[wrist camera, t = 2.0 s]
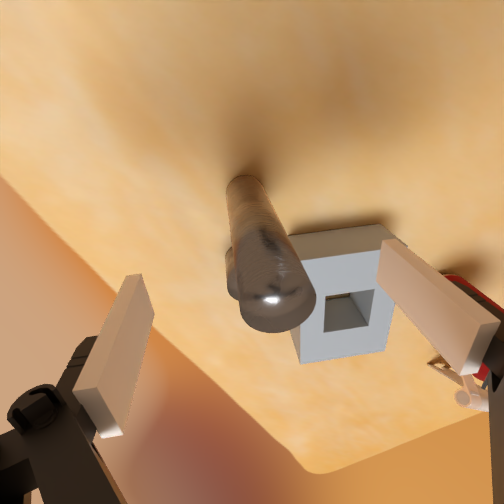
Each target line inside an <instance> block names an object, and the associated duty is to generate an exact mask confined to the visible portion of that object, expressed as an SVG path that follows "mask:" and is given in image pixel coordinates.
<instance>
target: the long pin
mask: <svg viewBox="0 0 504 504" xmlns="http://www.w3.org/2000/svg"><path fill="white" fill-rule="evenodd" d="M226 199H227V207H228V216H229V224H230V232H231V240H232V248H233V257H234V265H235V273H236V281H237V289H238V298H239V306H240V312H241V315H242V318H243V319H244V321H245V322H246V323H247V324H248V325H249V326H250V327H252V328H254V329H256V330H258V331H261V332H266V333H280V332H285V331H288V330H291V329H293V328H295V327H297V326H299V325H300V324H302V323H303V322H304V321H306V320H307V319H308V318H309V316H310V315H311V314H312V312H313V310H314V308H315V305H316V291H315V289H314V287H313V285H312V283H311V281H310V279H309V277H308V275H307V273H306V271H305V269H304V267H303V265H302V263H301V261H300V259H299V257H298V255H297V253H296V251H295V249H294V247H293V245H292V243H291V241H290V240H289V238H288V236H287V234H286V232H285V230H284V228H283V226H282V224H281V222H280V220H279V218H278V216H277V214H276V212H275V210H274V208H273V206H272V204H271V202H270V200H269V198H268V196H267V194H266V192H265V190H264V188H263V186H262V184H261V183H260V182H259V181H258V180H257V179H256V178H254V177H252V176H248V175H243V176H239V177H237V178H235V179H233V180H232V181H231V182H230V184H229V185H228V187H227V190H226Z"/></svg>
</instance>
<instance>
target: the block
mask: <svg viewBox="0 0 504 504" xmlns="http://www.w3.org/2000/svg"><path fill="white" fill-rule="evenodd" d="M288 238H289V240H290V241H291V243H292V245H293V247H294V249H295V251H296V253H297V255H298V257H299V259H300V261H301V263H302V265H303V267H304V269H305V271H306V273H307V275H308V277H309V279H310V281H311V283H312V285H313V287H314V289H315V291H316V305H315V308H314V310H313V312H312V314H311V315H310V316H309V318H308V319H307V320H306V321H304V322H303V323H302V324H300V325H299V326H297V327H295V328H293V329H291V330H290V333H291V336H292V340H293V343H294V346H295V349H296V352H297V355H298V359H299V362H300V364H306V363H312V362H319V361H325V360H331V359H337V358H344V357H350V356H356V355H363V354H369V353H375V352H381V351H385V347H386V343H387V338H388V334H389V329H390V325H391V320H392V315H393V311H394V306H395V302H394V301H393V300H392V299H391V298H390V297H389V295H388V294H387V293H386V292H385V291H384V290H383V289H382V287H381V286H380V285H379V284H378V283H377V282H376V276H377V270H378V264H379V257H380V251H381V244H382V240H387V239H395V238H396V239H397V240H398V241H399V242H401V243H402V244H403V245H404V246H406V247H408V246H407V245H406V244H405V243H403V242H402V241H401V240H400V239H398V238H397V237H396V236H395V235H393V234H392V233H391V232H390V231H388V230H387V229H386V228H385V227H383V226H382V225H381V224H374V225H366V226H359V227H351V228H343V229H336V230H328V231H321V232H313V233H306V234H298V235H290V236H288ZM344 293H350V296H349V297H344V298H337V299H330V300H325V296H330V295H337V294H344Z"/></svg>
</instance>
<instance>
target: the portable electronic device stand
mask: <svg viewBox="0 0 504 504" xmlns="http://www.w3.org/2000/svg"><path fill="white" fill-rule="evenodd" d="M427 365H428V366H429V367H431V368H433V369H434V370H436V371H438V372H439V373H441V374H443V375H444V376H446V377H448V378H449V379H451V380H453V381H454V382H456V383H458V384H459V385H461V386H463V387H462V388H460V389H458V390H456V391H455V394H454V398H455V401H456V402H457V404H458V405H460V406H461V407H465V408H470V409H475V410H481V411H486V412H489V403H488V390H486V389H485V390H484V389H481V386H479V385H477V384H475V382H474V379H473V377H472V375H471V374H468V375H462V376H459V375H458V374H457V373H456V372H454V371H452V370H450V369H448V368H444V367H442V369H440V368H438V367H436V366H435V365H432V364H427Z"/></svg>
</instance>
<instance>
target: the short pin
mask: <svg viewBox="0 0 504 504" xmlns="http://www.w3.org/2000/svg"><path fill="white" fill-rule="evenodd" d="M225 262H226V276H227V289H228V292H229V294H230V295H231V296H232V297H233V298H234V299H236V300H238V301H239V298H238V289H237V281H236V273H235V265H234V257H233V248H232V247H231V248H230V249H229V250H228V251H227V253H226V257H225Z"/></svg>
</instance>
